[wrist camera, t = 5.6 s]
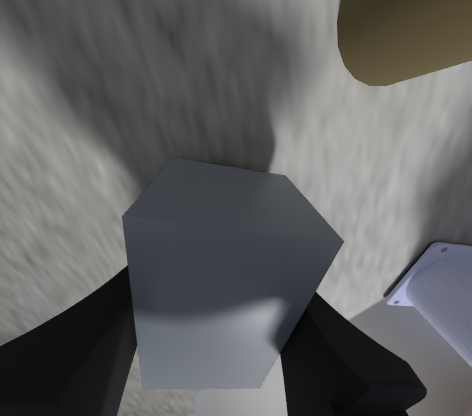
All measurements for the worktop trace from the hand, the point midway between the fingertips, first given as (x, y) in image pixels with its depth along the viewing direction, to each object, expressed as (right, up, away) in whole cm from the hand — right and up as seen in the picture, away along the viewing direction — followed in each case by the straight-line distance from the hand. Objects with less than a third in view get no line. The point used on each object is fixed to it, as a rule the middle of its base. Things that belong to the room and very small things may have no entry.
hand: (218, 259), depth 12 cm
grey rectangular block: (0, +1, +2) cm, 2 cm away
